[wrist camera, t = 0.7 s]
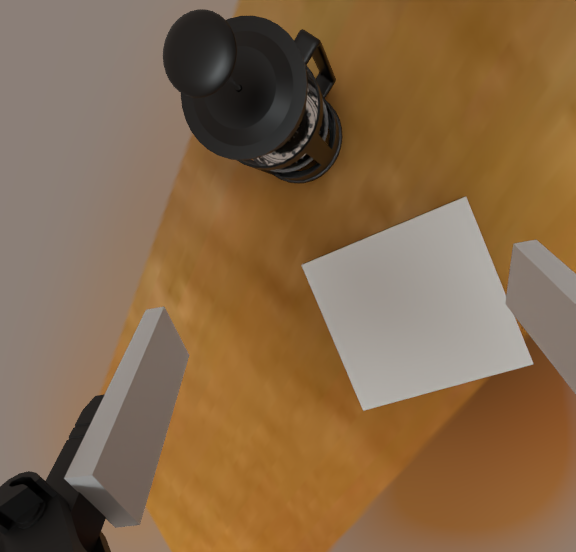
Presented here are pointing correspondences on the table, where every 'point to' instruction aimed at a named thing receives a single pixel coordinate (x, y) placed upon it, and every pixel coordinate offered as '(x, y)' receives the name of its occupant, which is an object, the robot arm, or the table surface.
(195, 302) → the table surface
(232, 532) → the table surface
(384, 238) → the white square mat
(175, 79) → the french press
